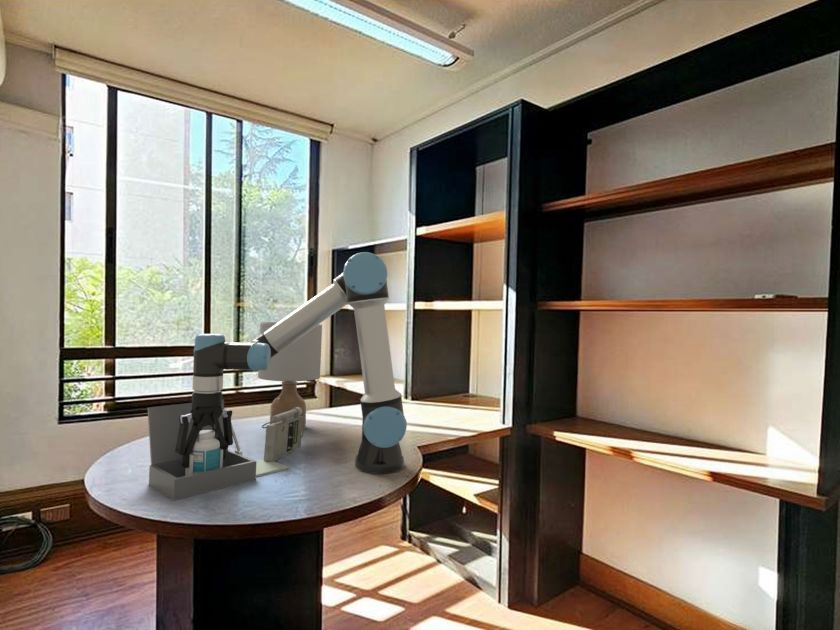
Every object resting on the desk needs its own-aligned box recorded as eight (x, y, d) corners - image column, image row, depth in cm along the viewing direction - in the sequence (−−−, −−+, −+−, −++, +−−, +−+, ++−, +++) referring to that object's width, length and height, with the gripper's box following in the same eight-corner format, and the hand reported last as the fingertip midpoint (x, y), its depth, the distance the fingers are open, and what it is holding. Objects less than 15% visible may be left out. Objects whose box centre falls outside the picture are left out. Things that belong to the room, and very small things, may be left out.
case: (259, 478, 134) (262, 408, 134) (173, 500, 116) (177, 419, 116) (224, 462, 146) (227, 398, 146) (142, 480, 128) (145, 407, 128)
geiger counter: (278, 416, 146) (313, 405, 171) (260, 414, 148) (296, 403, 172) (275, 462, 146) (309, 444, 170) (256, 460, 147) (293, 442, 172)
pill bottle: (217, 475, 134) (219, 427, 134) (220, 484, 128) (222, 433, 128) (187, 478, 131) (189, 429, 131) (189, 488, 124) (191, 436, 124)
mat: (287, 468, 143) (287, 466, 143) (254, 477, 134) (254, 475, 134) (267, 460, 150) (267, 458, 150) (234, 468, 141) (234, 466, 141)
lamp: (279, 418, 207) (283, 322, 207) (328, 425, 200) (332, 324, 200) (242, 430, 184) (247, 322, 185) (296, 438, 177) (301, 325, 177)
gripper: (235, 386, 139) (232, 464, 139) (162, 392, 124) (158, 481, 124) (249, 389, 135) (245, 470, 135) (174, 396, 119) (170, 488, 119)
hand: (204, 475), depth 129 cm, fingers closed on pill bottle, 7 cm apart
